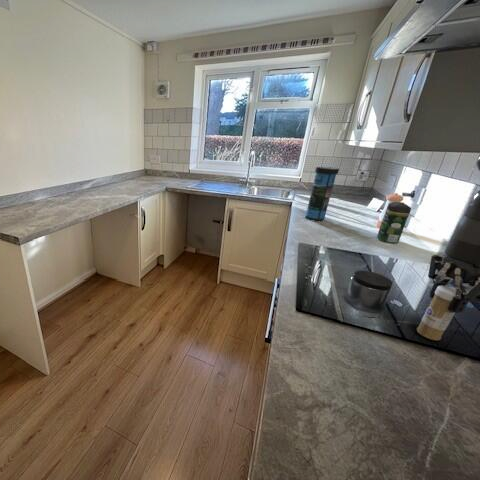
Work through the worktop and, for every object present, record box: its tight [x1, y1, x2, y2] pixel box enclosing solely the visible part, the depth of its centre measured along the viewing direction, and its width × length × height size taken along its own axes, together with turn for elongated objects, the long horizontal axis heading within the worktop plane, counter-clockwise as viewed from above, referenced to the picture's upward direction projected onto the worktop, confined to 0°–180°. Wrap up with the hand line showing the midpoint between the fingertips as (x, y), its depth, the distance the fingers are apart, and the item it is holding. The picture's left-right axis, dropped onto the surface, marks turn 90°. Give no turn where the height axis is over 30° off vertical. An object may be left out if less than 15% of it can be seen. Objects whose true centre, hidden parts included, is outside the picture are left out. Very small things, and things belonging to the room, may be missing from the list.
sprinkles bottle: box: [416, 285, 456, 341], centre depth 63 cm, size 5×5×13 cm
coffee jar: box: [376, 201, 412, 244], centre depth 123 cm, size 10×8×19 cm
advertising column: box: [304, 166, 340, 222], centre depth 151 cm, size 11×11×30 cm
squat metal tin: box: [343, 270, 393, 319], centre depth 74 cm, size 9×9×10 cm
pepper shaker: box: [375, 192, 404, 229], centre depth 140 cm, size 7×7×19 cm
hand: (443, 304), depth 62 cm, fingers closed on sprinkles bottle, 4 cm apart
